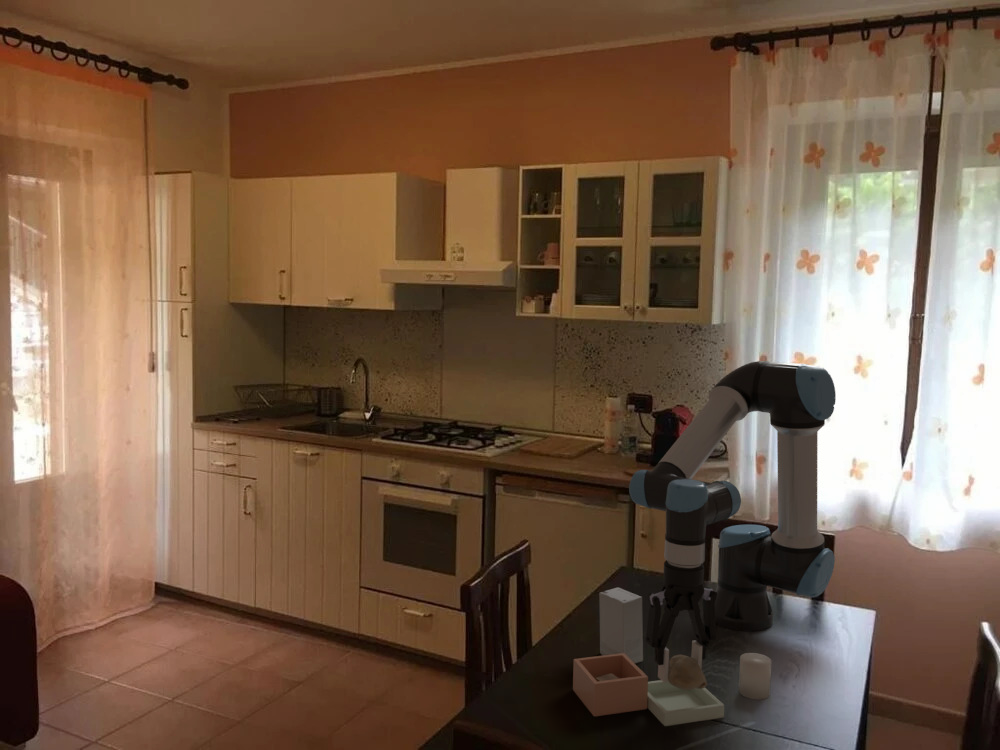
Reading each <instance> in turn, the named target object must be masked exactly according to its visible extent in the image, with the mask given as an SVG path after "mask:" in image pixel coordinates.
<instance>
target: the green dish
mask: <svg viewBox="0 0 1000 750" xmlns="http://www.w3.org/2000/svg"><path fill="white" fill-rule="evenodd" d="M647 709H648V710H649V711H650V712H651V713H652V715H654V717H655V718H656V719H657V720H658V721H659V722H660V723H661V724H662V725H663V726H664V727H669V726H677V725H682V724H687V723H688V724H689V723H690V724H691V723H697V722H702V721H710V720H716V719H722V718H723V719H724V718H725V704H724V703H723V702H722V701H720V700H719V698H717V697H716V695H714V694H712V692H710V690H708V689H707V688H706V687H705V688H703V689H698V688H695V689H692V690H682V689H680V688H677V687H675V686H673V685H671V684H670V683H669V681H668V683H664V682H663V681H662V680H661V679H659V680H651V681H648V696H647Z"/></svg>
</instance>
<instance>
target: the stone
mask: <svg viewBox="0 0 1000 750" xmlns="http://www.w3.org/2000/svg"><path fill="white" fill-rule="evenodd" d="M668 681H669V683H670V684H671V685H673V686H675V687H677V688H680V689H682V690H692V689H695V688H698V689H703V688H706V687H707V685H708V681H707V679H706V675H705V673H704V672H703V670H701V668H700V666H699V665H698V663H697V662H696V661H695V660H694V659H693V658H692V657H691V656H688V655H685V654H677V655H673V656H672V657H671V658H669V667H668Z"/></svg>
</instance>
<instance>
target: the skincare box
mask: <svg viewBox="0 0 1000 750" xmlns="http://www.w3.org/2000/svg"><path fill="white" fill-rule="evenodd" d="M598 594H599V597H598V598H599V651H600V655H601V656H603V655H612V654H620V653H625V654H626V655H627V656H628V657H629V658H630V659H631V660H632V661H633V662H634V663H635V664H638V663H640V662H643V661H644V641H643V637H644V636H643V633H644V632H643V631H644V630H643V624H644V623H643V596H640V595H638V594H636V593H632V592H631V591H629V590H625V589H623V588H621V587H615V588H611V589H607V590H603V591H601V592H599V593H598Z"/></svg>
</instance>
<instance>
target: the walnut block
mask: <svg viewBox="0 0 1000 750" xmlns="http://www.w3.org/2000/svg"><path fill="white" fill-rule="evenodd" d="M614 679H620V678H618V677H617V676H615V675H613V674H612V673H610V674H607V675H603V676H600V677H597V678H595V680H596V681H597V682H598V681H606V680H614Z"/></svg>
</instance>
